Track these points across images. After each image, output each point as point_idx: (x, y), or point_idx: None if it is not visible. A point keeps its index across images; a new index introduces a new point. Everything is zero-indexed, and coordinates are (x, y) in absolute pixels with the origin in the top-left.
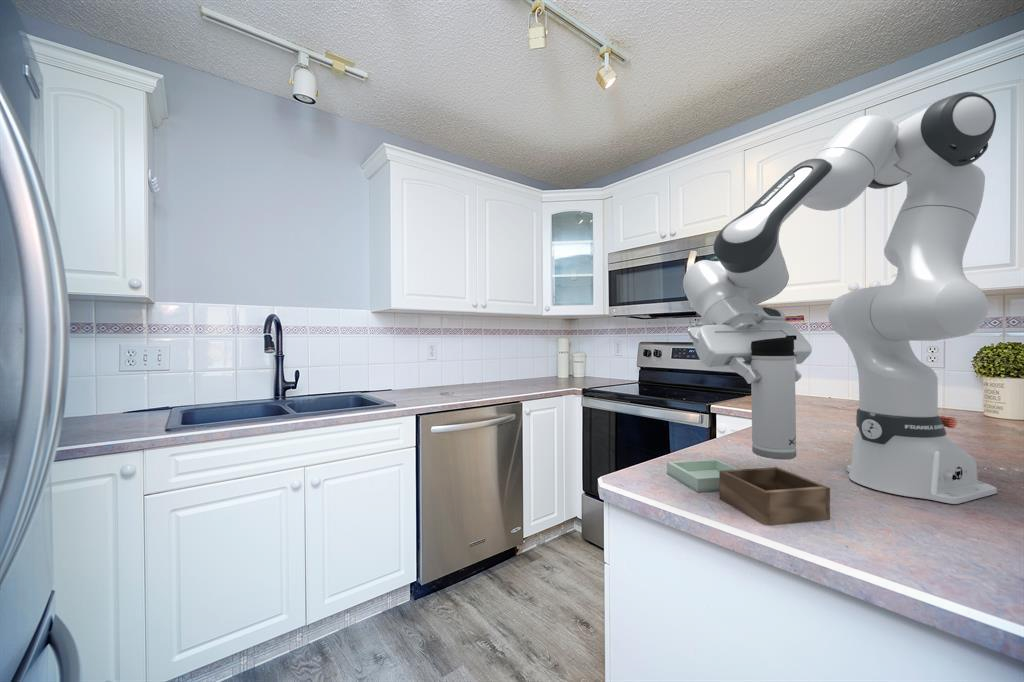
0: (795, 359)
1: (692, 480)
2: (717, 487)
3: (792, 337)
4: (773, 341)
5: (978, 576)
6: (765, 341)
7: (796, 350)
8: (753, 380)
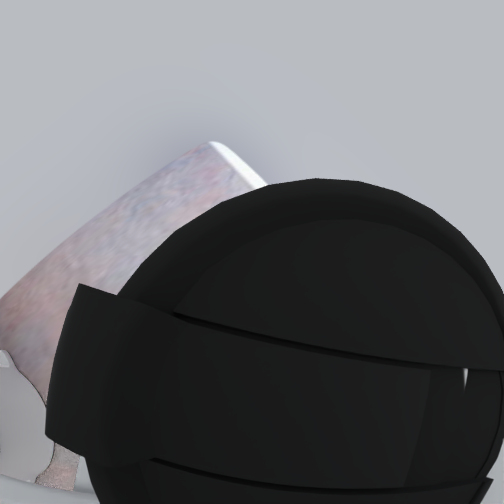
0: (80, 460)
1: None
2: None
3: (202, 214)
4: (437, 221)
5: (157, 193)
6: (486, 266)
7: (30, 490)
8: None
